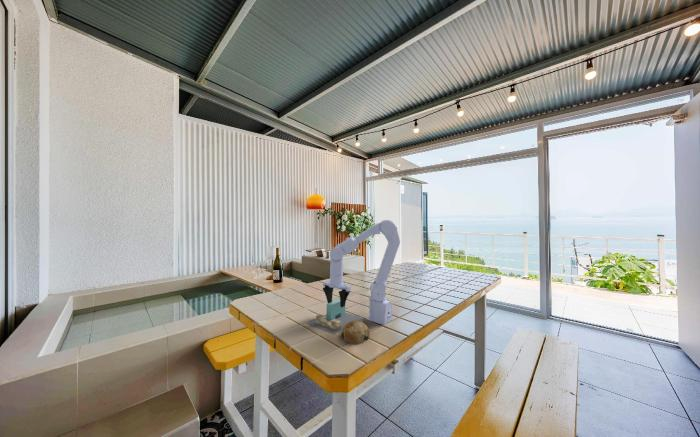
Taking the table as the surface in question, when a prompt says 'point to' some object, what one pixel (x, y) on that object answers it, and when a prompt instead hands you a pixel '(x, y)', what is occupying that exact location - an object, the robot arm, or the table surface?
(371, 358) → the table surface
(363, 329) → the bread roll
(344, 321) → the mat
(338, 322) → the birch u-shaped block
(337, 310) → the teal board
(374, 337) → the table surface
